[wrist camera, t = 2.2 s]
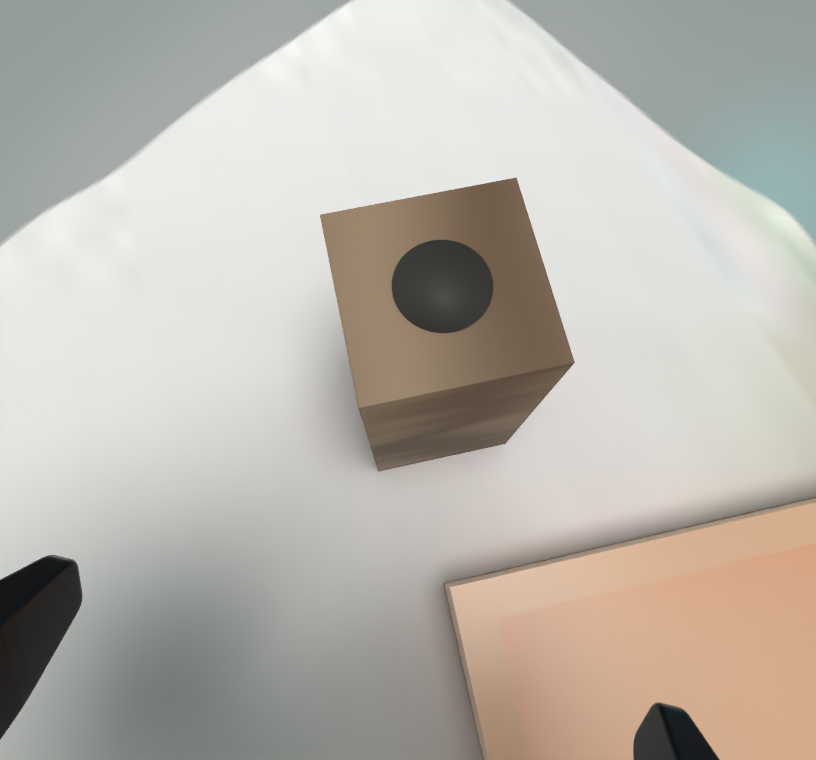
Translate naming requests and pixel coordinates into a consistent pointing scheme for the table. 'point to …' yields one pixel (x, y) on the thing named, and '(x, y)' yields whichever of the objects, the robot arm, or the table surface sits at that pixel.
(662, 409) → the table surface
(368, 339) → the walnut block
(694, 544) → the tray
